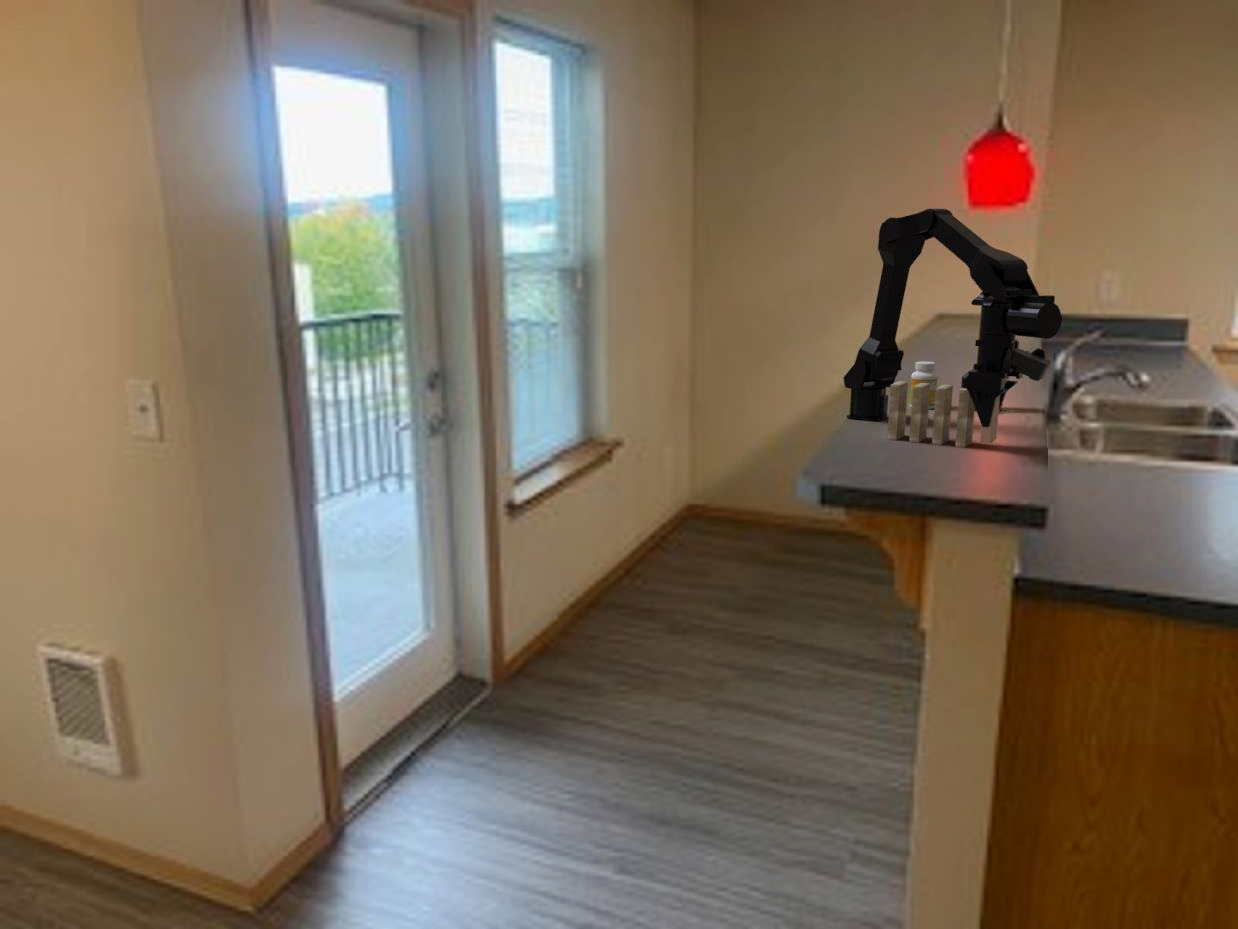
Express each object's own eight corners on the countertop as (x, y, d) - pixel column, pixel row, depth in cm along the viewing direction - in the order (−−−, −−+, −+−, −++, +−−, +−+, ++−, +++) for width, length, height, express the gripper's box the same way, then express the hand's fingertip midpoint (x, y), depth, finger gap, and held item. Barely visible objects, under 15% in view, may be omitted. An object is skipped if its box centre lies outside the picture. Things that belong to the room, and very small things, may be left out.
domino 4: (955, 446, 161) (959, 390, 158) (962, 441, 165) (966, 386, 162) (964, 447, 160) (969, 390, 158) (971, 442, 164) (976, 386, 162)
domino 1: (887, 439, 167) (890, 384, 165) (895, 434, 171) (899, 381, 169) (896, 440, 166) (899, 385, 164) (904, 435, 170) (908, 381, 168)
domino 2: (909, 441, 165) (913, 386, 163) (917, 436, 169) (921, 382, 167) (918, 442, 164) (922, 387, 162) (926, 437, 168) (930, 383, 166)
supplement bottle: (905, 405, 201) (908, 361, 199) (929, 404, 202) (932, 360, 200) (915, 409, 196) (918, 364, 194) (939, 409, 197) (942, 363, 194)
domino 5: (979, 443, 158) (984, 385, 156) (986, 438, 162) (991, 381, 160) (989, 444, 157) (994, 386, 155) (996, 439, 161) (1001, 382, 159)
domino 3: (932, 444, 163) (936, 388, 161) (939, 439, 167) (943, 384, 165) (941, 445, 162) (945, 388, 160) (948, 440, 166) (952, 385, 164)
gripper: (1038, 341, 144) (1028, 439, 147) (1058, 331, 159) (1049, 420, 162) (964, 337, 150) (956, 431, 153) (990, 328, 165) (983, 414, 168)
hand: (989, 424), depth 159 cm, fingers closed on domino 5, 5 cm apart
